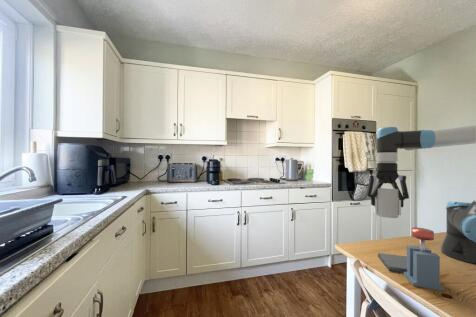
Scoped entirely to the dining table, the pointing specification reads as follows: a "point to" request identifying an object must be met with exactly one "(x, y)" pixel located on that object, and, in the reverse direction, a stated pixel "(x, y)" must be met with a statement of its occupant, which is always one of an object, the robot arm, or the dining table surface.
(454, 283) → the dining table surface
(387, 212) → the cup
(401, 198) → the robot arm
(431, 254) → the press frame
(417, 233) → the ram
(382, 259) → the press bed
